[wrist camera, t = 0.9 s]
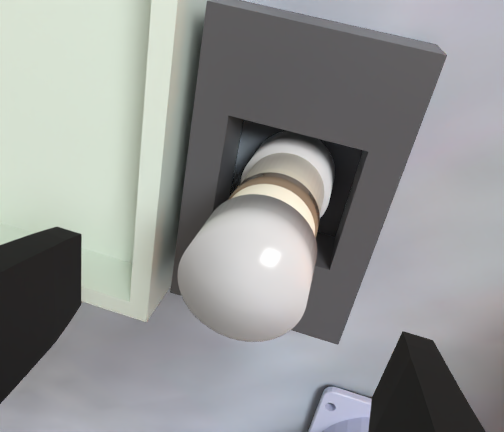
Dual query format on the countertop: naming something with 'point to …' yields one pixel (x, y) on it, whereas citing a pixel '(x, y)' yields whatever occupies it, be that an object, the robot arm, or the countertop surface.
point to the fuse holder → (307, 126)
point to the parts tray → (100, 135)
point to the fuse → (261, 243)
